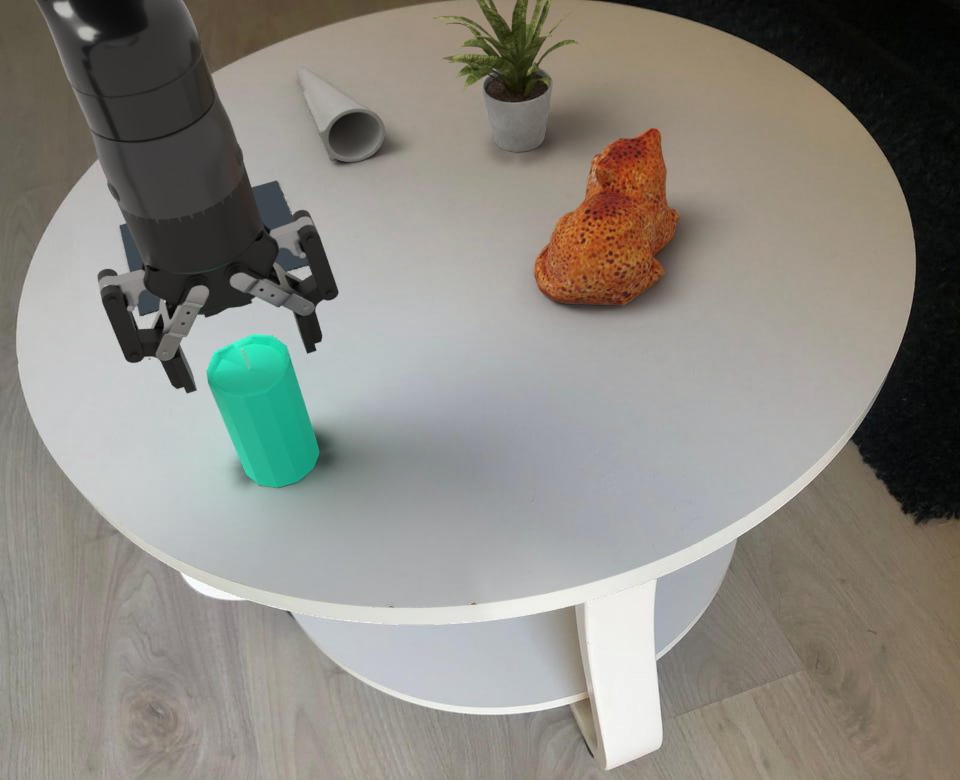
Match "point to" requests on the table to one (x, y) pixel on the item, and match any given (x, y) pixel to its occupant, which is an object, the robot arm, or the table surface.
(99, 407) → the table surface
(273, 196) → the mat
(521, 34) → the house plant
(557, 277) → the figurine
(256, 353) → the candle
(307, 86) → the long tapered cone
